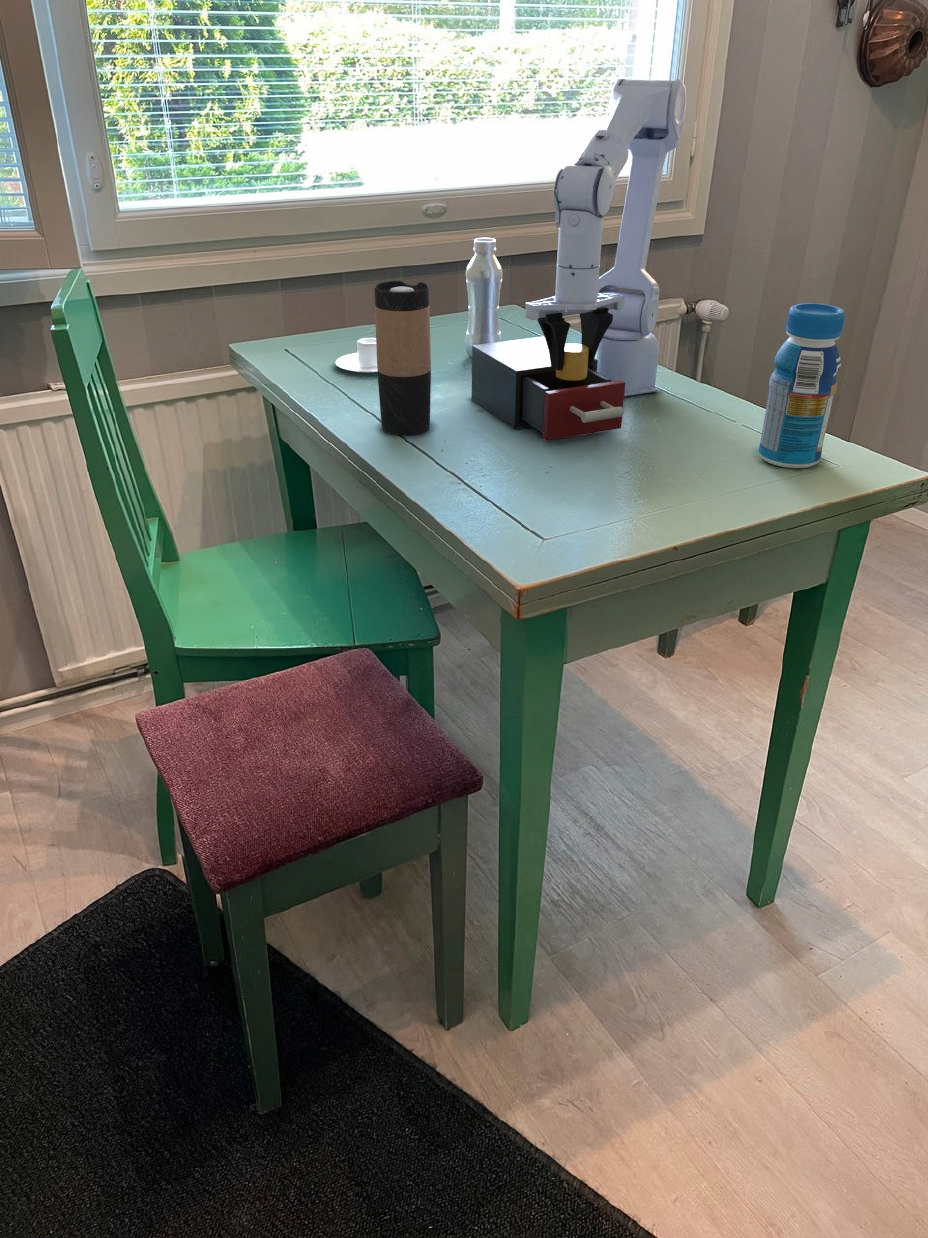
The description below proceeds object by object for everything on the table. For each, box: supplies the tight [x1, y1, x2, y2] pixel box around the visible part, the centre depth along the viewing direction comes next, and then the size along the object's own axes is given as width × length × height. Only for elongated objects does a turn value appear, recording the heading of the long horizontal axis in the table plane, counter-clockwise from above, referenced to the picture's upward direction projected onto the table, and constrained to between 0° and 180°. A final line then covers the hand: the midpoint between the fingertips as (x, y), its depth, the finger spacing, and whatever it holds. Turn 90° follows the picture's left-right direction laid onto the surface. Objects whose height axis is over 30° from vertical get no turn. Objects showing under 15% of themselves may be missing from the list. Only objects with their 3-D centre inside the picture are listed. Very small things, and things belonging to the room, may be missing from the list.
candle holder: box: [335, 337, 378, 374], centre depth 163 cm, size 12×12×4 cm
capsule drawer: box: [519, 368, 625, 442], centre depth 135 cm, size 18×12×7 cm
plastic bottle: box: [464, 237, 504, 359], centre depth 163 cm, size 6×7×20 cm
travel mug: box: [373, 280, 432, 437], centre depth 133 cm, size 8×8×20 cm
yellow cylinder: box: [556, 343, 589, 381], centre depth 132 cm, size 4×4×4 cm
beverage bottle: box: [758, 302, 846, 469], centre depth 123 cm, size 8×8×20 cm
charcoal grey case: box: [471, 335, 598, 430], centre depth 143 cm, size 15×14×9 cm
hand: (571, 365), depth 132 cm, fingers closed on yellow cylinder, 4 cm apart
